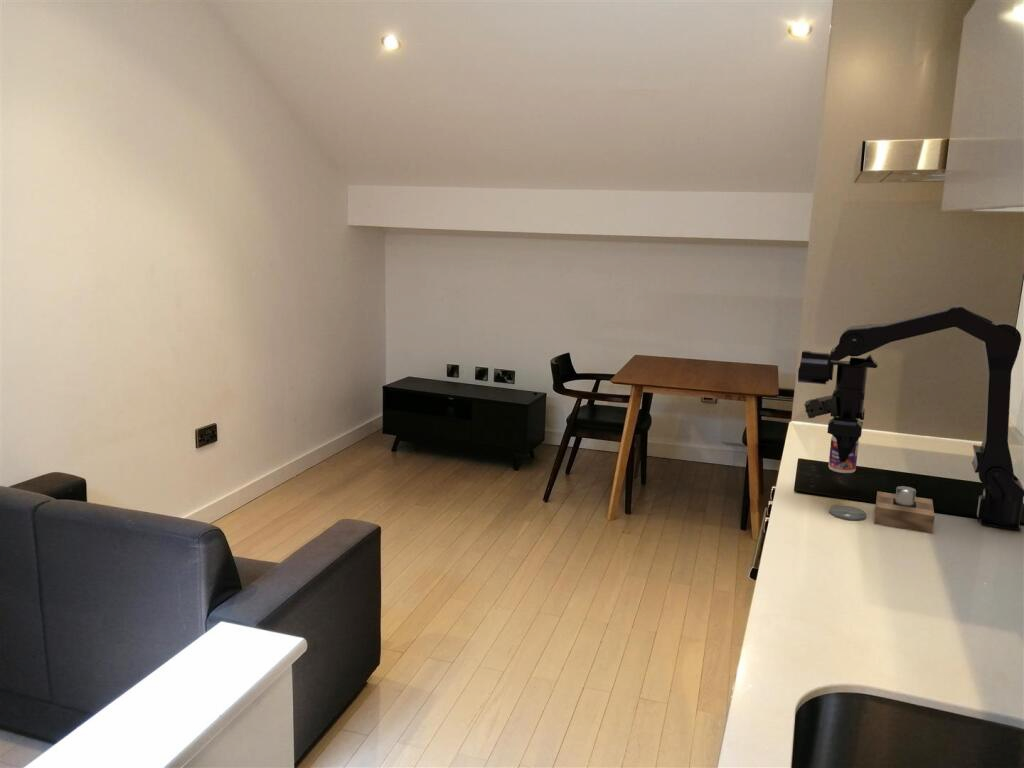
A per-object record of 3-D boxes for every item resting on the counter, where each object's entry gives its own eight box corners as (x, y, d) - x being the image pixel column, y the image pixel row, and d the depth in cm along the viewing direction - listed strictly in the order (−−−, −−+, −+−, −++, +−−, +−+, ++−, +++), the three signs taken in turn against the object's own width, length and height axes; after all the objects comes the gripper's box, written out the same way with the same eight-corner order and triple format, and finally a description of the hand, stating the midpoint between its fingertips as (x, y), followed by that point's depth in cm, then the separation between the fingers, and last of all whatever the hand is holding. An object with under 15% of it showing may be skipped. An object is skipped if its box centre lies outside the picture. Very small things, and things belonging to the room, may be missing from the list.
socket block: (930, 515, 149) (932, 499, 148) (932, 533, 140) (934, 515, 140) (875, 507, 154) (877, 491, 153) (874, 523, 145) (876, 506, 144)
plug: (912, 516, 148) (915, 487, 146) (912, 521, 145) (916, 493, 144) (893, 513, 149) (896, 485, 148) (893, 518, 146) (896, 490, 145)
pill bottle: (827, 471, 156) (831, 427, 154) (829, 464, 161) (833, 421, 159) (855, 475, 154) (859, 430, 152) (856, 468, 158) (861, 424, 156)
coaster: (867, 511, 151) (867, 508, 151) (865, 523, 145) (866, 520, 145) (830, 505, 154) (830, 502, 154) (827, 516, 148) (827, 514, 148)
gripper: (813, 375, 165) (807, 442, 168) (804, 391, 149) (797, 464, 152) (868, 380, 160) (860, 449, 163) (864, 396, 144) (857, 472, 147)
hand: (843, 458), depth 157 cm, fingers closed on pill bottle, 5 cm apart
